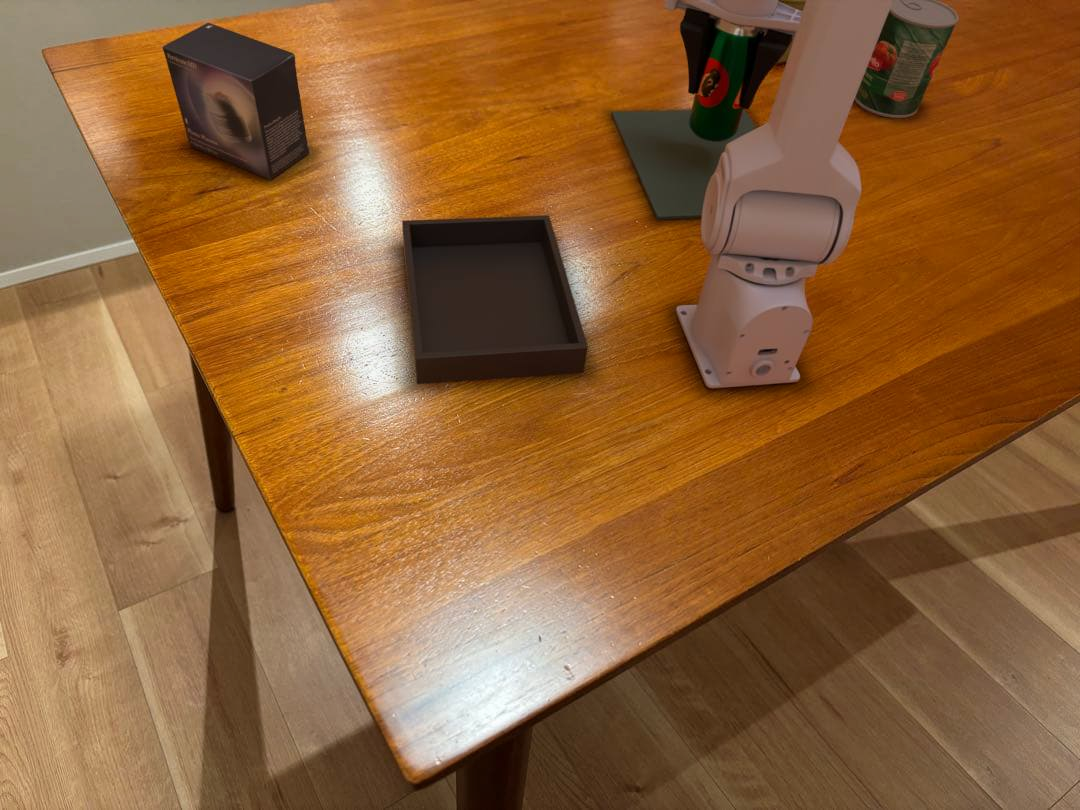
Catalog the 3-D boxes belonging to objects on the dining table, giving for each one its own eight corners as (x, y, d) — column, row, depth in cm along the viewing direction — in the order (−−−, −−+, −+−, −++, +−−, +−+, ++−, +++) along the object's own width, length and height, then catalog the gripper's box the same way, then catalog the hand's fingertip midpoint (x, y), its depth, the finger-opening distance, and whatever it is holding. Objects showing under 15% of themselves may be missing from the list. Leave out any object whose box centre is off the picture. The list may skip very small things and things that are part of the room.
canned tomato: (931, 114, 99) (974, 21, 90) (878, 122, 96) (918, 28, 88) (890, 82, 103) (927, -8, 95) (839, 89, 101) (873, -3, 93)
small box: (184, 148, 82) (156, 44, 74) (230, 121, 86) (207, 19, 78) (269, 183, 79) (248, 78, 71) (312, 152, 83) (297, 51, 75)
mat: (808, 214, 82) (810, 211, 82) (656, 220, 80) (657, 216, 79) (743, 112, 95) (744, 109, 95) (611, 114, 93) (611, 111, 92)
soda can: (734, 148, 83) (768, 29, 74) (685, 139, 84) (713, 20, 75) (736, 123, 86) (769, 7, 78) (689, 115, 87) (716, -2, 78)
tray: (583, 372, 65) (588, 347, 63) (416, 384, 63) (415, 358, 61) (546, 240, 76) (549, 214, 74) (403, 246, 74) (402, 220, 72)
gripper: (847, -44, 73) (799, 99, 83) (693, -80, 76) (665, 62, 86) (833, -17, 68) (784, 130, 79) (669, -57, 72) (643, 90, 82)
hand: (720, 97), depth 82 cm, fingers closed on soda can, 5 cm apart
